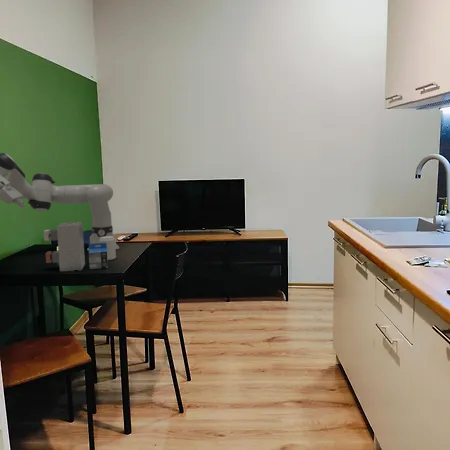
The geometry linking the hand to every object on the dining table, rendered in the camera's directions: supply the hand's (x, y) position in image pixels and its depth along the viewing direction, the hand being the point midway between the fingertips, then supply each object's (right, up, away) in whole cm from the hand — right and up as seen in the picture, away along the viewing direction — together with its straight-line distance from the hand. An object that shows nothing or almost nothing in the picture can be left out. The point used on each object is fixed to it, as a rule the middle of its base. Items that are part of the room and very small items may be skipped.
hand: (23, 206), depth 227 cm
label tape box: (+35, -31, +4) cm, 47 cm away
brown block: (+13, -27, +4) cm, 30 cm away
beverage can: (+35, -28, +25) cm, 51 cm away
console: (+20, -30, +6) cm, 37 cm away
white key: (+12, -16, +2) cm, 21 cm away
